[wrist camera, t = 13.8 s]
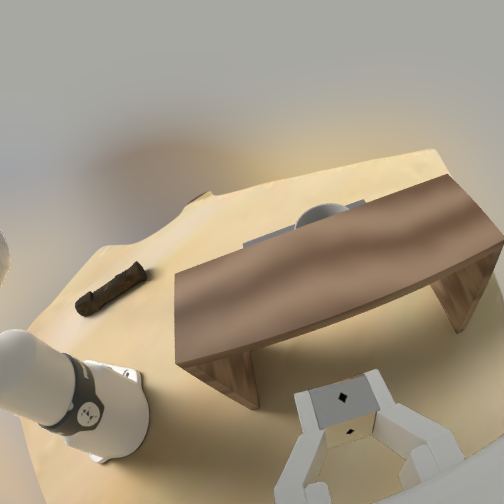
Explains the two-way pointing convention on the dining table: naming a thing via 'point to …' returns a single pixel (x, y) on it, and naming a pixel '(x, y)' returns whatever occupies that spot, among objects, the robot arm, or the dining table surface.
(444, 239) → the wooden bridge arch
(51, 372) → the robot arm
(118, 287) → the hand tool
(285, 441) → the dining table surface
